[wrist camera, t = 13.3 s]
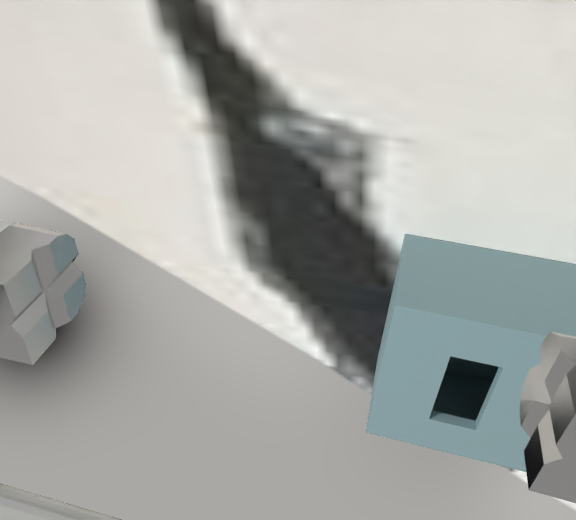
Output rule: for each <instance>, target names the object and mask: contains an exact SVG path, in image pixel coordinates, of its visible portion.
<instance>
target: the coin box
mask: <svg viewBox="0 0 576 520" xmlns="http://www.w3.org/2000/svg"><path fill="white" fill-rule="evenodd" d="M550 332H555V333H560V334H565V335H570V336H575V337H576V264H571V263H566V262H560V261H555V260H549V259H543V258H538V257H532V256H527V255H521V254H515V253H510V252H504V251H499V250H493V249H487V248H482V247H476V246H471V245H465V244H459V243H454V242H448V241H443V240H437V239H431V238H426V237H420V236H414V235H409V234H405V237H404V241H403V246H402V250H401V255H400V259H399V264H398V268H397V273H396V277H395V282H394V286H393V291H392V296H391V300H390V305H389V309H388V314H387V318H386V323H385V327H384V332H383V336H382V341H381V345H380V350H379V354H378V360H377V366H376V372H375V379H374V385H373V391H372V397H371V404H370V410H369V416H368V422H367V428H366V433H370V434H374V435H378V436H382V437H387V438H391V439H394V440H399V441H403V442H407V443H411V444H415V445H419V446H423V447H427V448H431V449H435V450H439V451H443V452H447V453H451V454H455V455H459V456H464V457H468V458H472V459H476V460H480V461H484V462H488V463H492V464H496V465H500V466H504V467H508V468H512V469H516V470H520V471H524V472H526V465H525V457H524V450H525V448H526V446H527V444H528V442H529V440H530V437H529V436H528V435H527V433H526V432H525V431H524V430H523V428H522V427H521V423H520V397H521V392H522V387H523V383H524V381H525V379H526V376H527V374H528V372H529V369H531V368H533V367H535V366H537V365H539V364H541V357H540V351H539V349H540V347H541V345H542V343H543V341H544V339H545V337H546V336H547V335H548V334H549V333H550Z"/></svg>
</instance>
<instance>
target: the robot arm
mask: <svg viewBox="0 0 576 520" xmlns="http://www.w3.org/2000/svg"><path fill="white" fill-rule="evenodd" d="M78 254H79V253H78V250H77V247H76V243H75V240H74V238H72V237H71V236H69V235H67V234H64V233H60V232H56V231H51V230H47V229H42V228H38V227H34V226H29V225H24V224H20V223H19V224H17V223H14V222H10V221H5V220H1V219H0V358H4V359H9V360H13V361H18V362H23V363H27V364H31V365H33V364H34V363H35V361H36V360H37V359H38V358H39V357H40V356H41V355H42V354H43V352H44V351H45V350H46V349H47V348H48V347H49V346H50V344H51V343H52V342H53V341H54V340H55V339H56V332H55V328H57V327H59V326H61V325H63V324H66V323H68V322H70V321H71V320H72V319H73V318H74V316H75V315H76V314H77V313H78V311H79V310H80V308H81V305H82V302H83V300H84V297H85V285H86V283H85V279H84V274H83V272H82V271H81V270H80V269H79V268H78V267H77V265H76V264H75V263H74V260H75V258H76V257H77V255H78ZM539 351H540V357H541V364H539V365H537V366H535V367H533V368H531V369H529V372H528V374H527V376H526V379H525V381H524V383H523V387H522V392H521V397H520V423H521V427H522V428H523V430H524V431H525V432H526V433H527V435H528V436H529V437H530V440H529V442H528V444H527V446H526V448H525V450H524V457H525V465H526V472H527V480H528V488H529V490H531V491H534V492H538V493H541V494H545V495H548V496H552V497H556V498H559V499H563V500H566V501H570V502H574V503H576V337H575V336H570V335H565V334H560V333H555V332H550V333H549V334H548V335H547V336H546V337H545V339H544V341H543V343H542V345H541V347H540V349H539ZM0 520H121V519H118V518H114V517H111V516H108V515H104V514H101V513H98V512H94V511H91V510H88V509H84V508H81V507H78V506H74V505H71V504H68V503H64V502H61V501H58V500H54V499H51V498H47V497H44V496H41V495H37V494H34V493H31V492H27V491H24V490H21V489H18V488H14V487H11V486H8V485H4V484H0Z"/></svg>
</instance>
